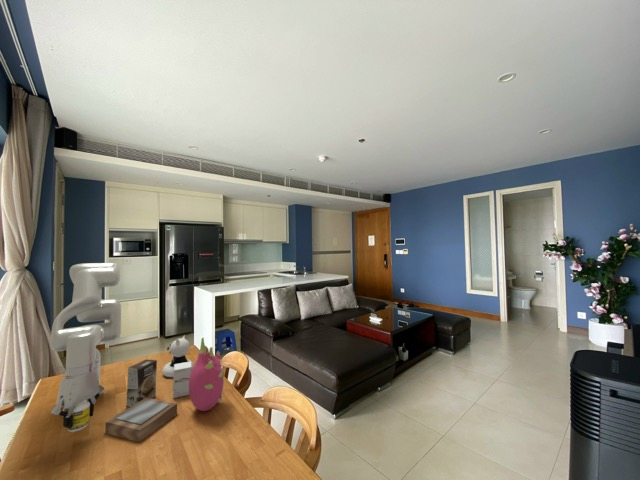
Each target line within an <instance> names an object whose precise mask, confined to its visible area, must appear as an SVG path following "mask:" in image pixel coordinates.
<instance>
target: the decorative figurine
mask: <svg viewBox="0 0 640 480" xmlns="http://www.w3.org/2000/svg"><path fill="white" fill-rule="evenodd" d="M190 345H191V344H190V342H189V340H187V339H186V337H185V334H184V335H183V336H182V337H180V338H178V337H176V339H175V340H173V342H171V344H169V347H166V348H167V351H169V354H170V355H171V356H172V358H171V361H170V362H168V363H166V364H165V365H164V366H163V368H162V371H161V372H162V374H163V376H165V377H168V378H173V376H174V364H179V363H185V362H190V361H191V364H192V368H191V371H192V369H193V366H194V362H193V361H192V360H191V359H189V358H187V357H186V354H188V352H189V351H190V347H191V346H190Z"/></svg>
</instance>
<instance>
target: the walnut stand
mask: <svg viewBox="0 0 640 480" xmlns="http://www.w3.org/2000/svg"><path fill="white" fill-rule="evenodd" d="M177 414H178V403H176V402H171V401H166V400H161V399H156V398H147V397H146V398H145V399H143V400H141V401H140V402H138V403H136V404H135V405H133V406H131V407H130V406H129V407H128V408H126V409H124V410H123V411H121V412H120V413H118V414H116V415H114V416H113V417H111V418H109V419H107V420H106V421H105V431H104V432H105V434H108V435H111V436H114V437H115V436H116V437H118V438H122V439H125V440H130V441H134V442H137V443H141V442H142V441H143V440H144V439H146V438H147V437H148V436H149V435H151V434H153V432H155V431H156V430H157V429H159V428H160V427H162V426H163V425H164V424H165V423H167V422H168V421H169V420H171V419H172V418H174V417H175V416H177Z"/></svg>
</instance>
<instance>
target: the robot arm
mask: <svg viewBox="0 0 640 480" xmlns="http://www.w3.org/2000/svg"><path fill="white" fill-rule="evenodd" d="M120 268H121V267H120V265H119V264H118V263H115V262H90V263H89V262H87V263H86V262H85V263H77V264H73V265H72V266H71V267H70V268H69V277H70V280H71V282H72V283H73V292H72V302H71V303H70V304H68V305H67V306H66V307H64V308H63V309H62V310H61V311H60V312H59V313H58V315H57V316H56V317H55V319H54V321H53V323H52V327H51V334H50V339H49V346H50V349H51V350H52V351H53V352H64V351H66V354H65V355H66V357H65V362H66V363H65V375H64V376H62V377H61V380H60V384H59V388H58V392H57V400H56V401H57V402H56V404H55V406H54V407H53V409H52V410H51V412H50V414H51V415H52V414H53V415H56V416H60V417H62V427H64V428H65V429H68V428H69V429H70V428H72V427H73V416H72V415H71V414H72V411H73V408H74V406H76V405H78V404H80V403H81V402H83V401H84V400H87V401H88V402H90V414H89V418H90V417H93V416H94V411H95V404H96V403H97V399H98V398H100V396H101V395H102V394H104V391H105V387H104V386H102V385H101V379H100V378H101V352H100V351H99V349H98V348H97V346H99V345H105V344H110V343H114V342H117V341H118V340H119V339H120V338H121V333H122V305H121V302H120V300H119V299H117V298H105V299H102V296H103V295H102V293H103V291H102V288H110V287H111V288H112V287H116V286H118V285H119V282H120V280H121V279H120V278H121V269H120ZM73 317H76V319H77V321H78V322H80V323H90V322H91V323H92V322H98V321H99V322H100V321H108V322H102V323H101V322H100V323H92V324H86V325H81V326H76V327H75V326H74V327H67V328H64V325H65V324H66V323H67V322H68V321H69V320H71V319H72V318H73ZM62 407H63V409H62ZM61 409H62V410H61Z"/></svg>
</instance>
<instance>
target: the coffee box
mask: <svg viewBox="0 0 640 480" xmlns="http://www.w3.org/2000/svg"><path fill="white" fill-rule="evenodd" d="M157 362H158V360H156V359H144V360H142V361H139V362H137V363H134V364H132V365H131V366H128V367H127V369H128V370H127V389H126V404H125V405H126V407H129V408H130V407H131V406H133V405H135V404H136V403H138V402H140V401H141V400H143V399H145V398H146V397H147V398H152V399H155V397H156V395H157V369H158V368H157V367H158V366H157V364H158V363H157Z"/></svg>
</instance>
